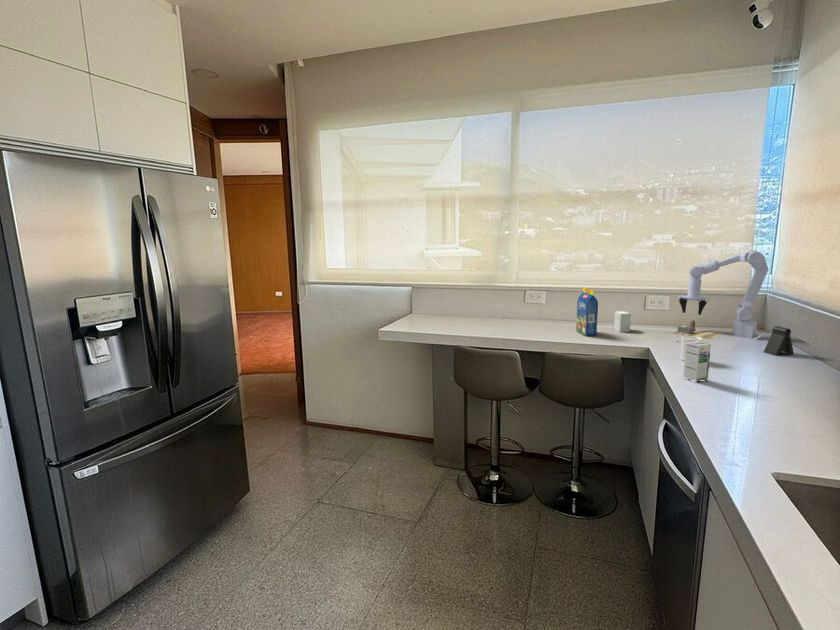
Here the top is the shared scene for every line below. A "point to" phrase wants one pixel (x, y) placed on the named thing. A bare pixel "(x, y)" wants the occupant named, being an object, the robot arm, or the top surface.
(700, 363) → the syrup box
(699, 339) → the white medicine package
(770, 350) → the phone stand
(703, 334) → the plywood board
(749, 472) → the top surface
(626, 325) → the small box
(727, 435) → the top surface
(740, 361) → the top surface
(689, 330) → the block
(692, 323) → the grey-capped wooden dowel
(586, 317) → the blue food package
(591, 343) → the top surface
